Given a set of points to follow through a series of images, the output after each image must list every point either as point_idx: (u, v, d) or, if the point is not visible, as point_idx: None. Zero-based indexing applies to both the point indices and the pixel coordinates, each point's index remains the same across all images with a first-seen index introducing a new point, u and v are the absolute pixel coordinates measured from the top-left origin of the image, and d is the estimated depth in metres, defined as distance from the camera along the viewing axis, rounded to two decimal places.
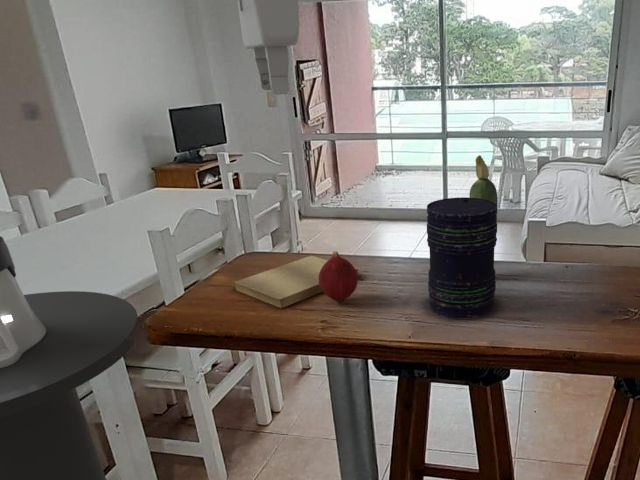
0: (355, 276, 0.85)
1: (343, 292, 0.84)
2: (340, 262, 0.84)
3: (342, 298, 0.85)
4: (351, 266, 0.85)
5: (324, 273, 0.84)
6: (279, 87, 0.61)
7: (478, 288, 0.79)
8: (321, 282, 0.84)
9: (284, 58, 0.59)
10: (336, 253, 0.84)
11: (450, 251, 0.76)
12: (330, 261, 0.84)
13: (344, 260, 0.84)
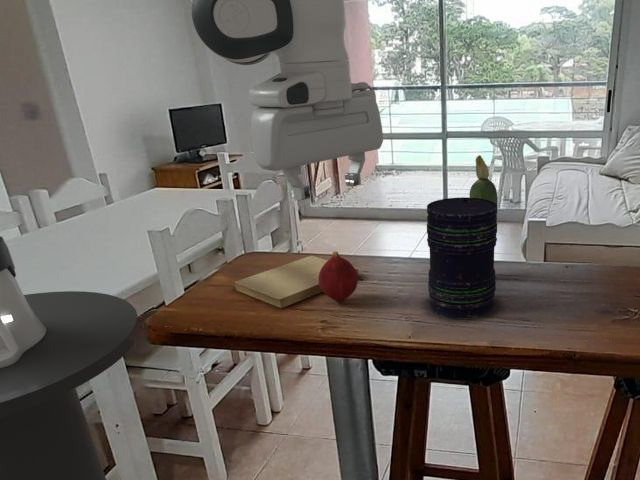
0: (355, 276, 0.85)
1: (343, 292, 0.84)
2: (340, 262, 0.84)
3: (342, 298, 0.85)
4: (351, 266, 0.85)
5: (324, 273, 0.84)
6: (297, 195, 0.76)
7: (478, 288, 0.79)
8: (321, 282, 0.84)
9: (291, 175, 0.74)
10: (336, 253, 0.84)
11: (450, 251, 0.76)
12: (330, 261, 0.84)
13: (344, 260, 0.84)
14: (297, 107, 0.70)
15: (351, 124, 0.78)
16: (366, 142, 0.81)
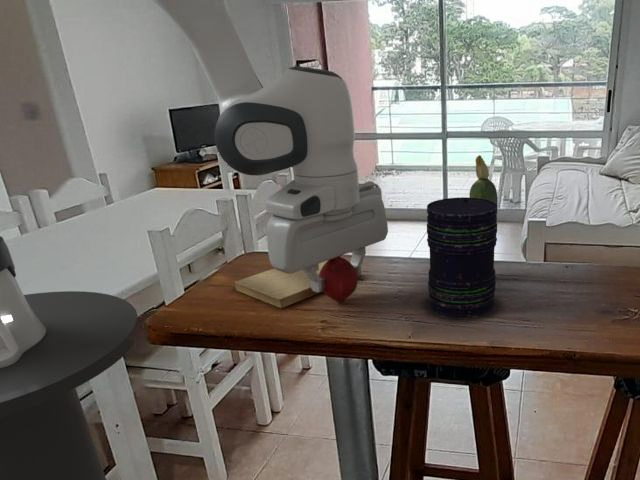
0: (355, 276, 0.85)
1: (343, 292, 0.84)
2: (340, 262, 0.84)
3: (342, 298, 0.85)
4: (351, 266, 0.85)
5: (324, 273, 0.84)
6: (314, 287, 0.83)
7: (478, 288, 0.79)
8: None
9: (309, 272, 0.81)
10: None
11: (450, 251, 0.76)
12: (330, 261, 0.84)
13: (344, 260, 0.84)
14: (309, 217, 0.76)
15: (358, 222, 0.84)
16: (372, 236, 0.87)
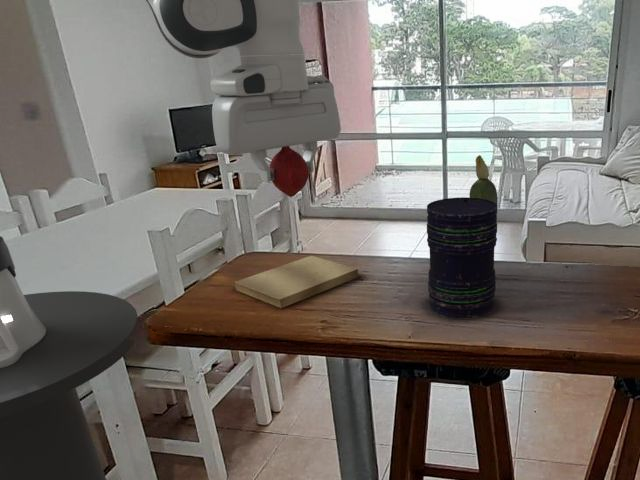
0: (305, 168, 0.85)
1: (293, 183, 0.84)
2: (290, 152, 0.84)
3: (293, 191, 0.86)
4: (301, 158, 0.85)
5: (273, 163, 0.84)
6: (263, 177, 0.83)
7: (478, 288, 0.79)
8: None
9: (257, 159, 0.81)
10: None
11: (450, 251, 0.76)
12: (280, 152, 0.84)
13: (294, 151, 0.85)
14: (254, 96, 0.76)
15: (308, 114, 0.85)
16: (324, 131, 0.87)
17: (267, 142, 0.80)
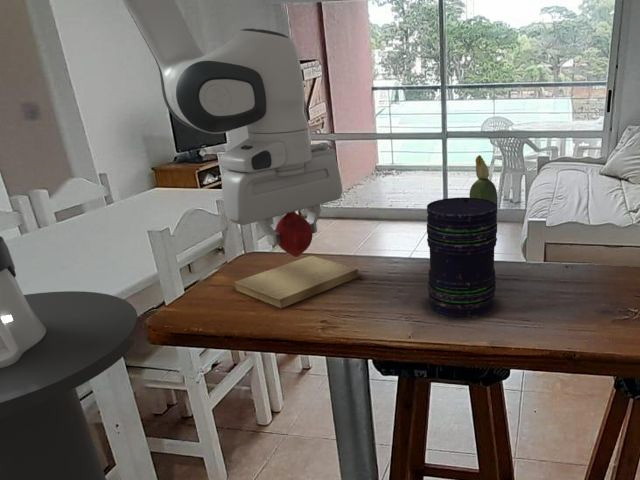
0: (309, 231, 0.90)
1: (298, 246, 0.89)
2: (294, 217, 0.89)
3: (297, 252, 0.91)
4: (305, 222, 0.90)
5: (279, 228, 0.89)
6: (270, 241, 0.88)
7: (478, 288, 0.79)
8: None
9: (264, 225, 0.86)
10: None
11: (450, 251, 0.76)
12: (285, 217, 0.89)
13: (298, 216, 0.90)
14: (261, 171, 0.81)
15: (312, 180, 0.90)
16: (326, 194, 0.92)
17: (273, 210, 0.85)
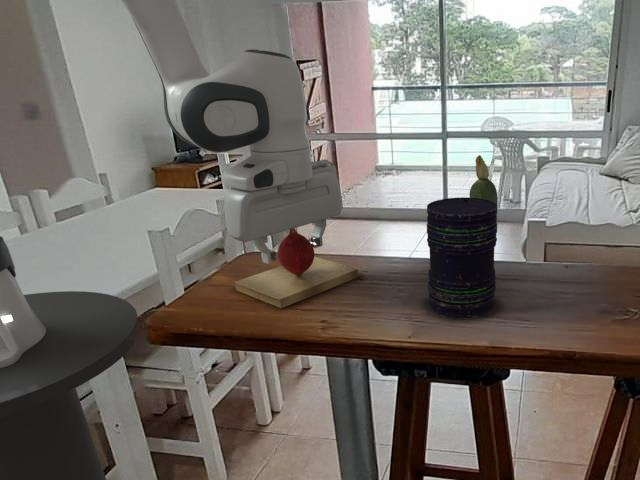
0: (311, 251, 0.91)
1: (300, 265, 0.91)
2: (297, 237, 0.90)
3: (299, 272, 0.92)
4: (307, 242, 0.91)
5: (281, 248, 0.90)
6: (264, 259, 0.89)
7: (478, 288, 0.79)
8: (279, 256, 0.91)
9: (259, 244, 0.86)
10: (293, 229, 0.91)
11: (450, 251, 0.76)
12: (288, 237, 0.90)
13: (301, 236, 0.91)
14: (263, 189, 0.82)
15: (312, 197, 0.91)
16: (327, 211, 0.93)
17: (275, 227, 0.86)
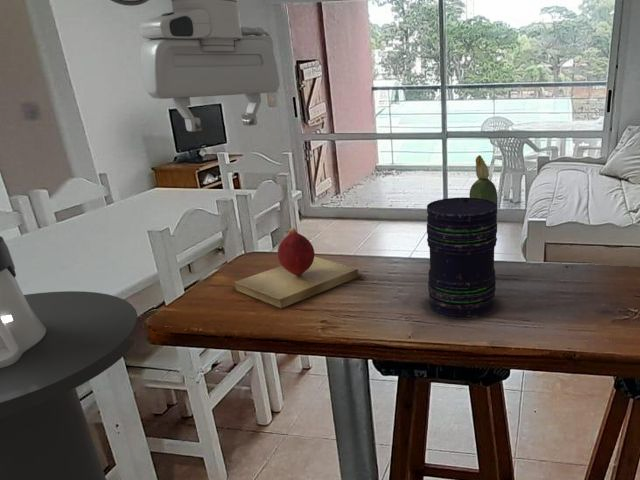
0: (311, 251, 0.91)
1: (300, 265, 0.91)
2: (297, 237, 0.90)
3: (299, 272, 0.92)
4: (307, 242, 0.91)
5: (281, 248, 0.90)
6: (188, 126, 0.82)
7: (478, 288, 0.79)
8: (279, 256, 0.91)
9: (180, 106, 0.80)
10: (293, 229, 0.91)
11: (450, 251, 0.76)
12: (288, 237, 0.90)
13: (301, 236, 0.91)
14: (182, 40, 0.76)
15: (243, 64, 0.85)
16: (261, 83, 0.87)
17: (198, 89, 0.80)
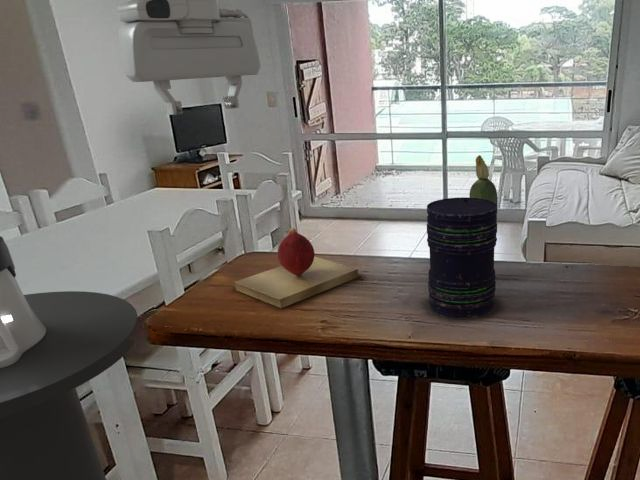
0: (311, 251, 0.91)
1: (300, 265, 0.91)
2: (297, 237, 0.90)
3: (299, 272, 0.92)
4: (307, 242, 0.91)
5: (281, 248, 0.90)
6: (169, 109, 0.83)
7: (478, 288, 0.79)
8: (279, 256, 0.91)
9: (160, 89, 0.80)
10: (293, 229, 0.91)
11: (450, 251, 0.76)
12: (288, 237, 0.90)
13: (301, 236, 0.91)
14: (159, 22, 0.76)
15: (223, 46, 0.85)
16: (241, 66, 0.87)
17: (177, 71, 0.80)
